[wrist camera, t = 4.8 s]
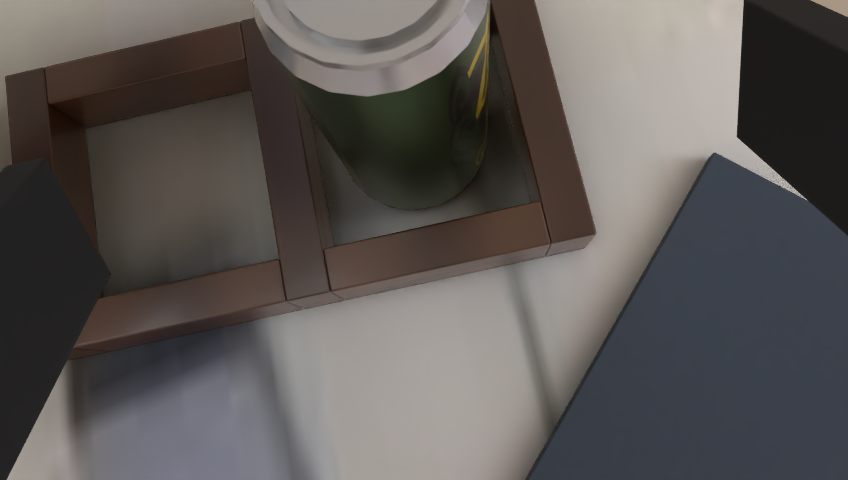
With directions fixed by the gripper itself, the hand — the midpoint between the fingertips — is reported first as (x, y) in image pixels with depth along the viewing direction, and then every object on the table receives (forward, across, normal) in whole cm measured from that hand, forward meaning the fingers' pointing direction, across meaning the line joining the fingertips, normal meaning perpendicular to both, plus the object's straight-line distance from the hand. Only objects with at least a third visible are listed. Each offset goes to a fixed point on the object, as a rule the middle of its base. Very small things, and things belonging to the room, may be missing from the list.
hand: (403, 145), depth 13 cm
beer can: (+12, 0, -6) cm, 13 cm away
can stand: (+12, -4, -6) cm, 14 cm away
